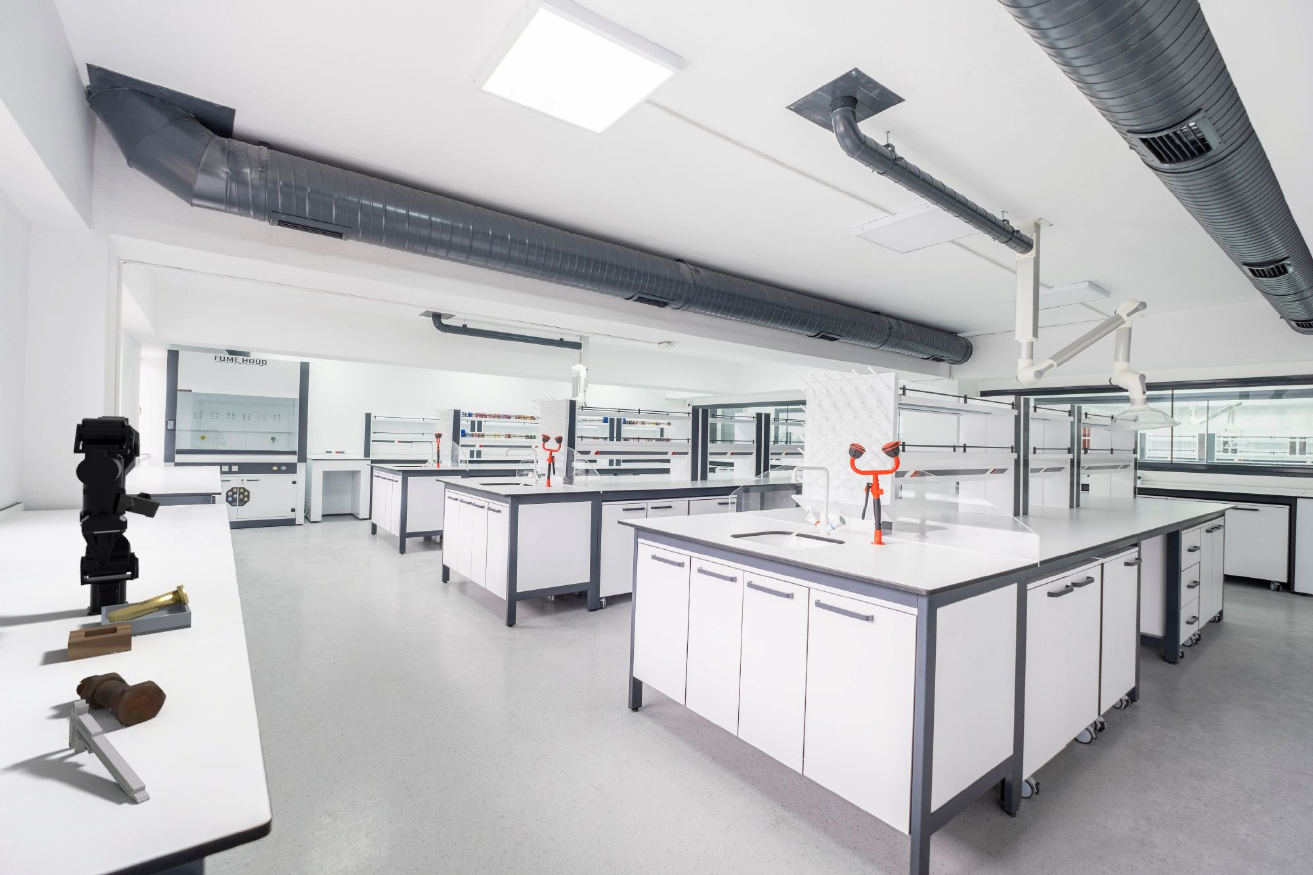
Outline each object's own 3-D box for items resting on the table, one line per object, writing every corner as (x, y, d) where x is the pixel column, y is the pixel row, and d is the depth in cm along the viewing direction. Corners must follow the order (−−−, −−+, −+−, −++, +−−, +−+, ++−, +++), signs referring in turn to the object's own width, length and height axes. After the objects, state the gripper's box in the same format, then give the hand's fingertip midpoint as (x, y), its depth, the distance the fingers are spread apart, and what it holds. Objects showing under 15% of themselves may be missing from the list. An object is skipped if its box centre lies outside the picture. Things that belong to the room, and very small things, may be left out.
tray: (101, 621, 119) (101, 607, 119) (183, 609, 127) (184, 596, 127) (100, 641, 108) (101, 625, 108) (190, 627, 116) (191, 611, 116)
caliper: (67, 750, 72) (68, 699, 72) (79, 746, 73) (81, 696, 73) (137, 806, 61) (139, 746, 61) (151, 801, 62) (152, 742, 62)
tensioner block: (69, 648, 104) (69, 631, 104) (130, 638, 110) (130, 622, 110) (67, 661, 98) (67, 643, 98) (131, 650, 104) (131, 633, 104)
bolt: (96, 709, 86) (148, 730, 79) (55, 704, 82) (107, 726, 75) (121, 668, 88) (174, 685, 82) (83, 661, 84) (135, 678, 78)
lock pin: (105, 613, 112) (183, 586, 120) (105, 608, 115) (181, 582, 123) (113, 632, 113) (190, 604, 121) (112, 627, 115) (187, 600, 124)
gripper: (162, 484, 114) (161, 564, 114) (152, 477, 127) (150, 550, 127) (82, 487, 106) (80, 573, 106) (80, 479, 119) (78, 556, 119)
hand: (101, 562), depth 115 cm, fingers open, 9 cm apart
